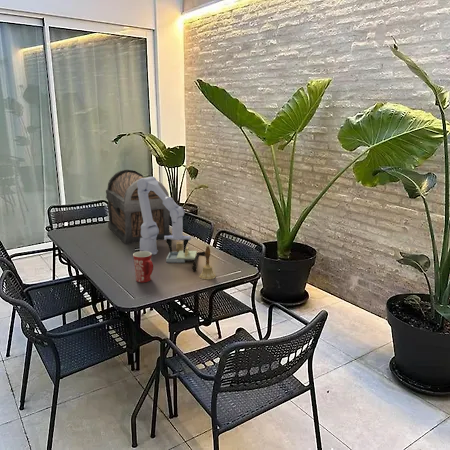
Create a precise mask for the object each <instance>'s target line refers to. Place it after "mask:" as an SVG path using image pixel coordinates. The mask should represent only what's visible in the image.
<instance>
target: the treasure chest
mask: <svg viewBox="0 0 450 450" xmlns="http://www.w3.org/2000/svg"><path fill="white" fill-rule="evenodd" d="M141 178H145V176H143V174H141V173H139V172H138V171H137V170H133V169H122V170H119V171H118V172H115V174H113V176H111V177H110V179H109V180H108V183H107V189H106V190H105V195H106V196H105V198H106V200H107V207H108V222H107V228H109V230H110V231H112V233H114V235H116V236H117V237H118V238H119V240H121V242H123V244H124V245H125V244H126V245H127V244H128V245H131V244H138V243H139V244H140V238H143V237H142V236H141V225H142V224H143V217H142V212H141V207H140V202H139V197H138V186H137V182H138V181H139V179H141ZM158 184H159V186H160V187H161V189H162V190H163V191H164V193H165V194H166V195H167V197H170V195H169V192H168V189H167V188H166V187H165V186H164V184H163V183H161V182H160V181H158ZM148 197H149V202H150V208H151V213H152V218H153V221H154V222H156V224H157V227H158V229H159V234H158V235H157V237H156V241H161V240H164V236H169V235H172V233H171V231H170V222H171V221H170V212H169V211H168V209H167V208H166V207H165V206H164V205H163V200H162V199H161V198H160V197H159V196H158V195H157V194H156V193H155V192H154V191H150V192H149V193H148ZM149 227H150V226H149Z"/></svg>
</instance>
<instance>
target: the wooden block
mask: <svg viewBox="0 0 450 450" xmlns="http://www.w3.org/2000/svg"><path fill="white" fill-rule="evenodd" d="M175 248H176V249H175V250H176V251H175V252H179V250H181V251H183V250H184V244H183V241H176V245H175Z"/></svg>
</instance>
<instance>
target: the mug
mask: <svg viewBox="0 0 450 450" xmlns="http://www.w3.org/2000/svg"><path fill="white" fill-rule="evenodd" d="M152 255H153V254H152V253H151V252H148V251H140V250H139V251H136V252H133V254H132V256H133V263H134V265H133V266H134V271H135V272H134V275H135V281H136V282H138V283H148V282H150V281H152V273H153V270H154V263H153V261H152Z"/></svg>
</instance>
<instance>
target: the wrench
mask: <svg viewBox="0 0 450 450" xmlns="http://www.w3.org/2000/svg"><path fill="white" fill-rule="evenodd" d="M199 256H205V251H199V252H198V251H197V253H196V257H195V259H194V261H191V262H192V263H191V265H192V266H191V270H192V271H193V272H197V261H198V259H199Z"/></svg>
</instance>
